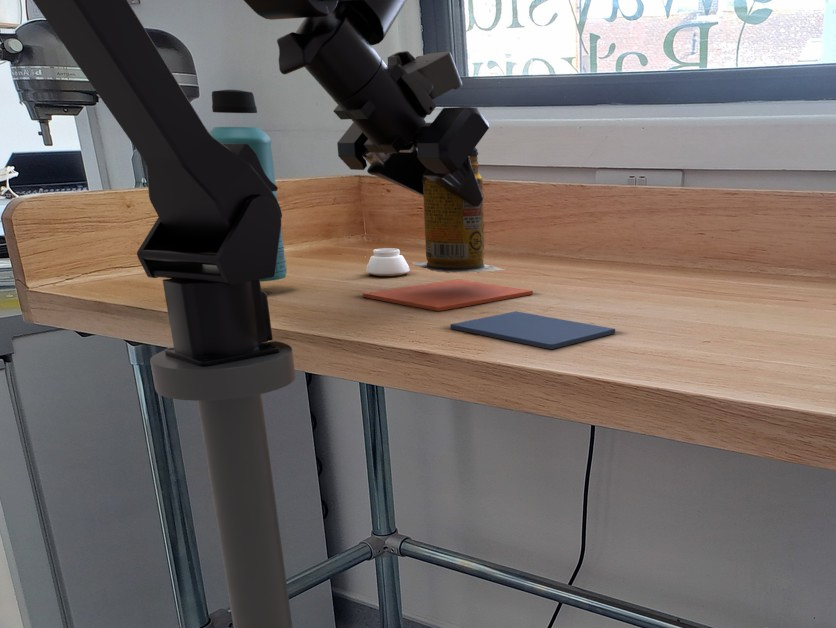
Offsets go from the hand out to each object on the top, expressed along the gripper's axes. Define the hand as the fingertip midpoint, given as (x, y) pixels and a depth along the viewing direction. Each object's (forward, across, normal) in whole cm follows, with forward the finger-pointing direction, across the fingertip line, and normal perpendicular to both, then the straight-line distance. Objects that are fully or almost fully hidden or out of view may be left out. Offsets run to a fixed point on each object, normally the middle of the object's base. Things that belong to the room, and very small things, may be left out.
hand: (461, 201), depth 88 cm
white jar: (+8, +17, +6) cm, 20 cm away
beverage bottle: (-4, +16, +18) cm, 24 cm away
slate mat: (+2, -20, +12) cm, 23 cm away
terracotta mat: (+5, 0, +8) cm, 10 cm away
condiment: (+4, -1, +6) cm, 7 cm away
